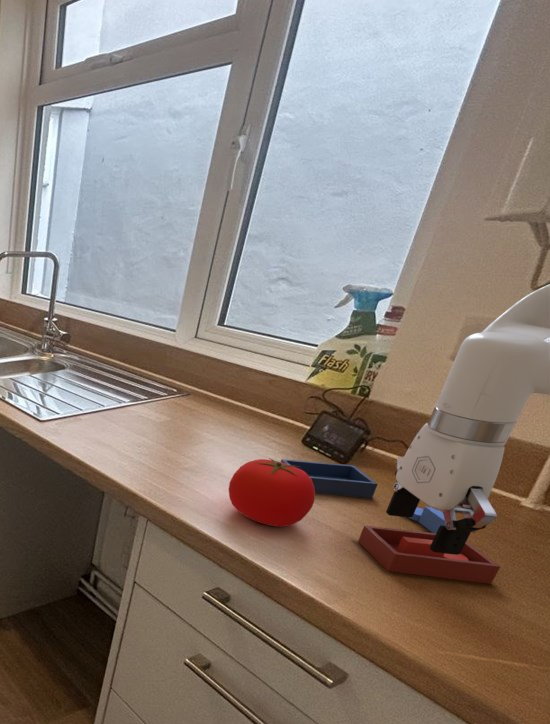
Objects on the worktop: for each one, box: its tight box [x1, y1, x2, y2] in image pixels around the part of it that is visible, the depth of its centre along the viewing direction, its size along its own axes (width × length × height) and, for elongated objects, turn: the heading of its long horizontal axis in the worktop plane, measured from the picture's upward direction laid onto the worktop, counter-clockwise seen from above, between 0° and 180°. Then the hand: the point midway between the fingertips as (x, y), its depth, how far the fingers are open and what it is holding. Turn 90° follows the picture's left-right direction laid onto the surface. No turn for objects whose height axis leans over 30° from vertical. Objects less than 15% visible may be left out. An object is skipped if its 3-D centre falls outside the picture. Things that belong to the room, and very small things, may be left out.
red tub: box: [357, 525, 501, 585], centre depth 78 cm, size 12×8×3 cm, turn 76°
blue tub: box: [280, 458, 379, 499], centre depth 100 cm, size 12×8×3 cm, turn 76°
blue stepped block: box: [406, 506, 445, 533], centre depth 87 cm, size 8×3×3 cm, turn 167°
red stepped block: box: [397, 537, 469, 561], centre depth 78 cm, size 8×3×3 cm, turn 76°
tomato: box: [228, 457, 316, 527], centre depth 88 cm, size 11×12×10 cm
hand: (420, 532), depth 77 cm, fingers open, 9 cm apart
